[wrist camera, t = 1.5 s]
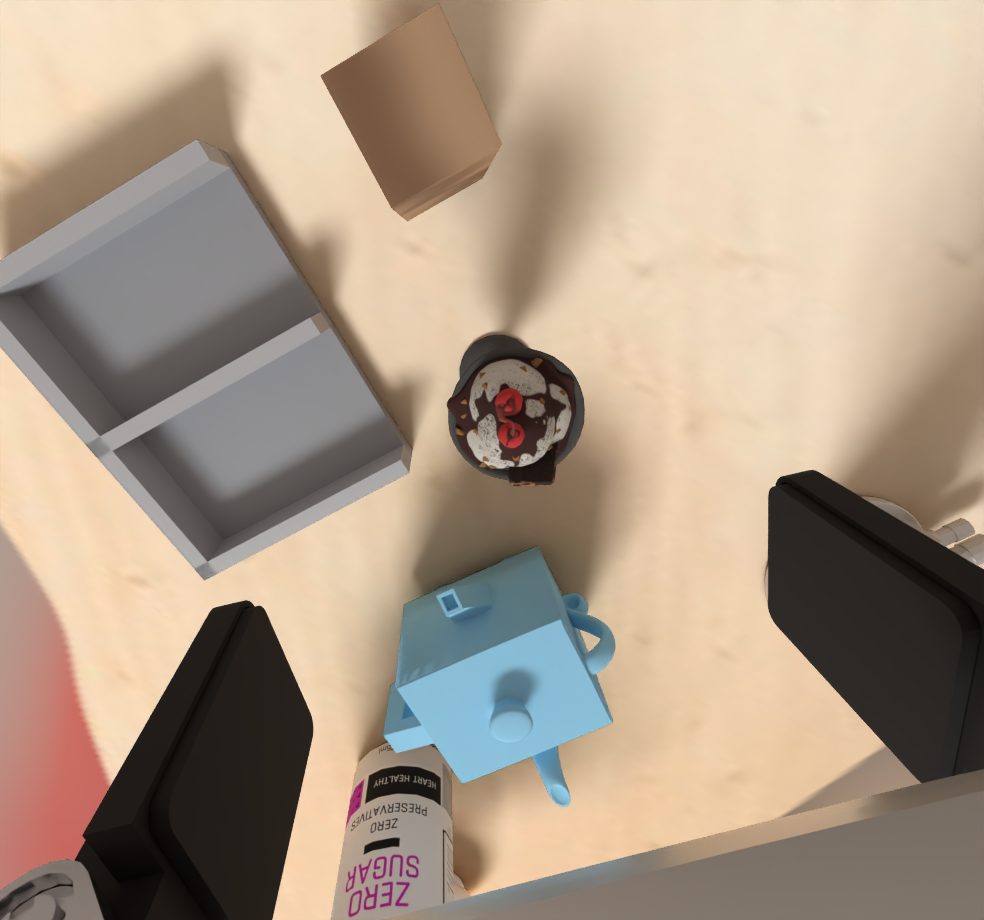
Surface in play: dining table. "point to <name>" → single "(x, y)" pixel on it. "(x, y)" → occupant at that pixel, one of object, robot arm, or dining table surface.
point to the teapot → (499, 672)
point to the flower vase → (459, 889)
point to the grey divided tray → (197, 361)
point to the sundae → (515, 411)
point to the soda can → (397, 836)
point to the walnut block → (415, 114)
